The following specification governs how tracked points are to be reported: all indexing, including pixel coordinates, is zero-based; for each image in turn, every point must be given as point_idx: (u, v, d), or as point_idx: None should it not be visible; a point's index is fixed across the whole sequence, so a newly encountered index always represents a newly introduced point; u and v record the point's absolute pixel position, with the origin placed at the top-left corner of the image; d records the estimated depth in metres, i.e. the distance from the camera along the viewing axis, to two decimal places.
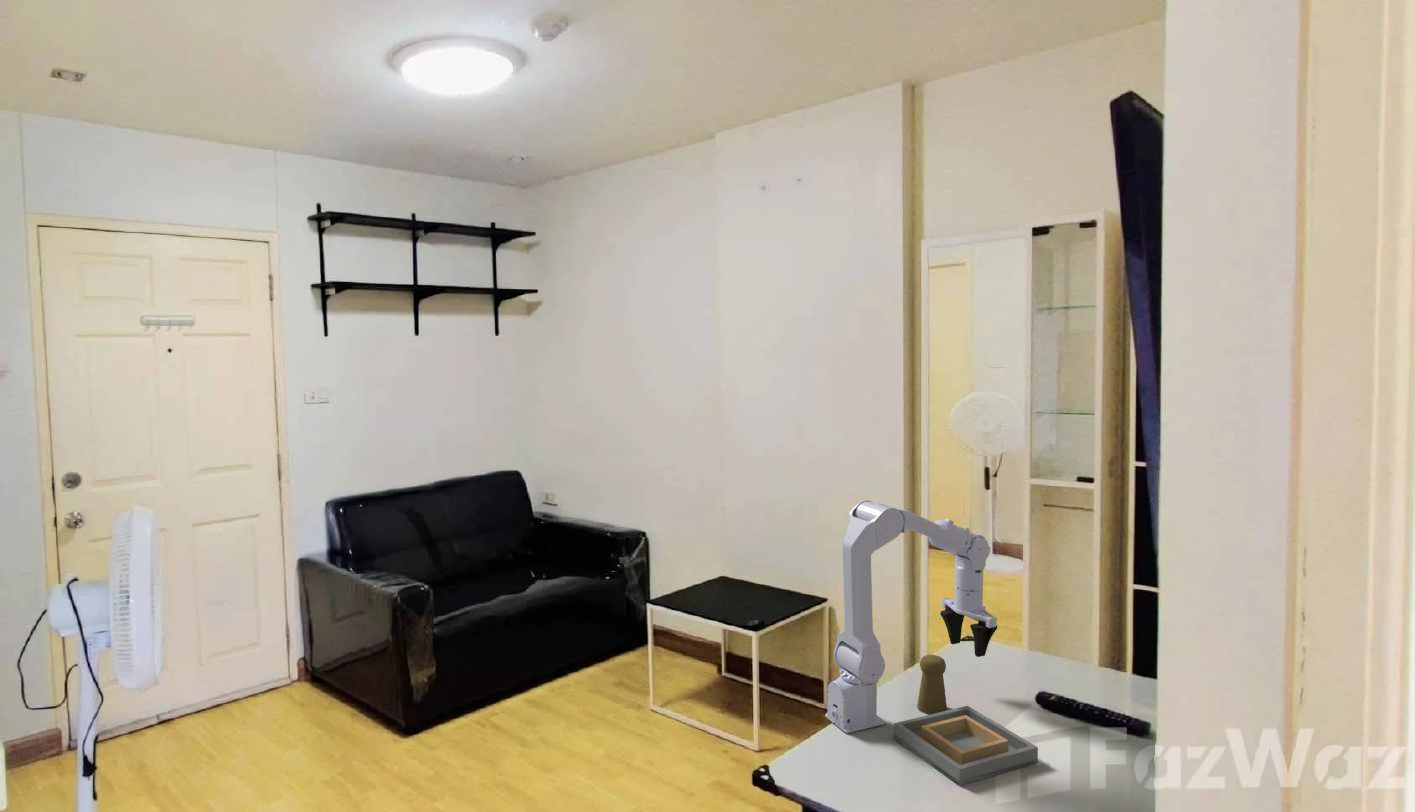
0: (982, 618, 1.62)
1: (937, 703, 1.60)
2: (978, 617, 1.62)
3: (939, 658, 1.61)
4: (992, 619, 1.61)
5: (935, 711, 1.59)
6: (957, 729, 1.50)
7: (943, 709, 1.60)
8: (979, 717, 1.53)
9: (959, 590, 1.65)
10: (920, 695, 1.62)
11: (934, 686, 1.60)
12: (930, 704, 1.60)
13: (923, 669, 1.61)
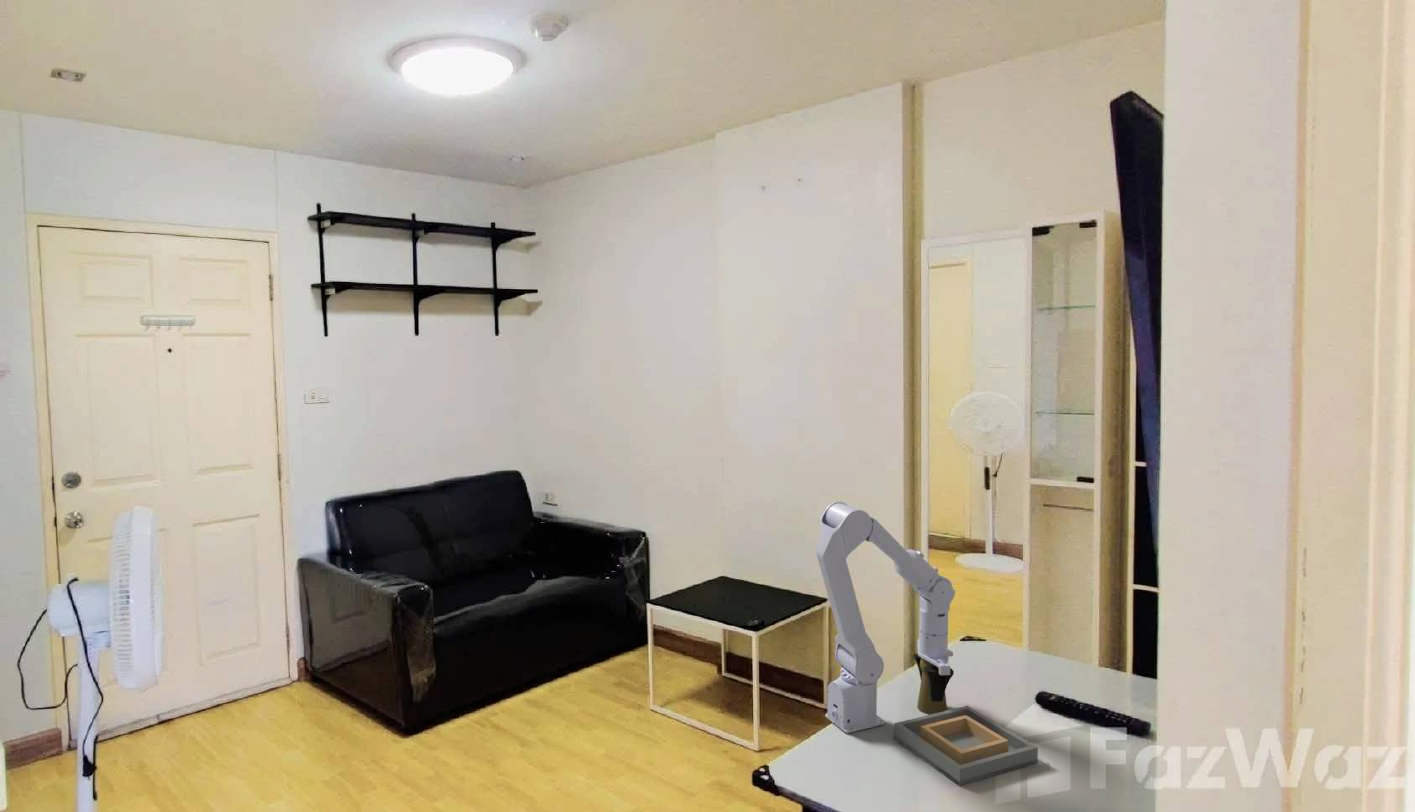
0: (936, 664, 1.56)
1: (937, 703, 1.60)
2: (933, 663, 1.57)
3: None
4: (944, 667, 1.54)
5: (935, 711, 1.59)
6: (957, 729, 1.50)
7: (943, 709, 1.60)
8: (979, 717, 1.53)
9: (920, 632, 1.61)
10: (920, 695, 1.62)
11: None
12: (930, 703, 1.60)
13: (923, 669, 1.61)
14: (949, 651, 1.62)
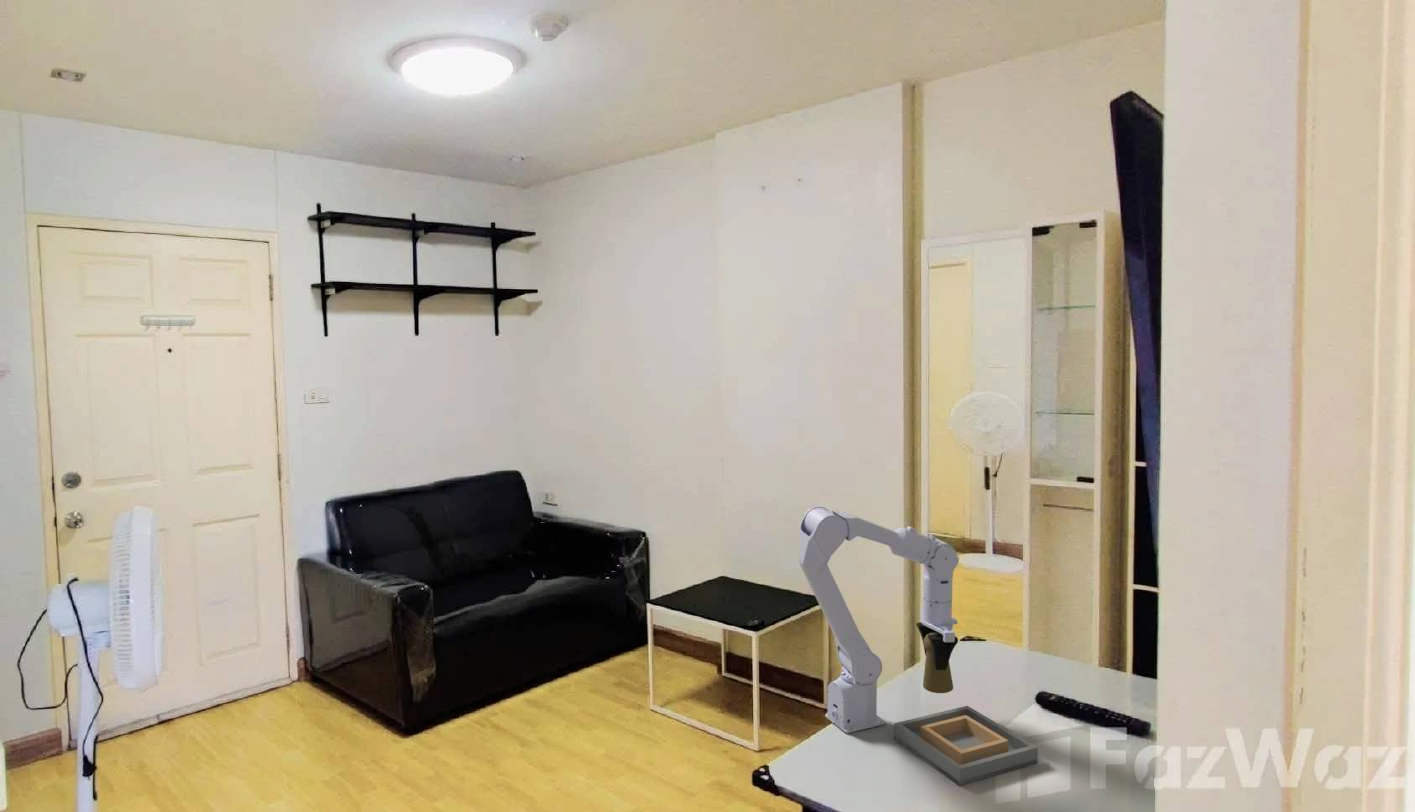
0: (940, 631, 1.53)
1: (942, 681, 1.57)
2: (937, 630, 1.54)
3: None
4: (949, 633, 1.52)
5: (940, 689, 1.57)
6: (957, 729, 1.50)
7: (949, 687, 1.58)
8: (979, 717, 1.53)
9: (924, 600, 1.58)
10: (925, 673, 1.60)
11: None
12: (935, 682, 1.58)
13: (926, 647, 1.58)
14: (953, 619, 1.59)
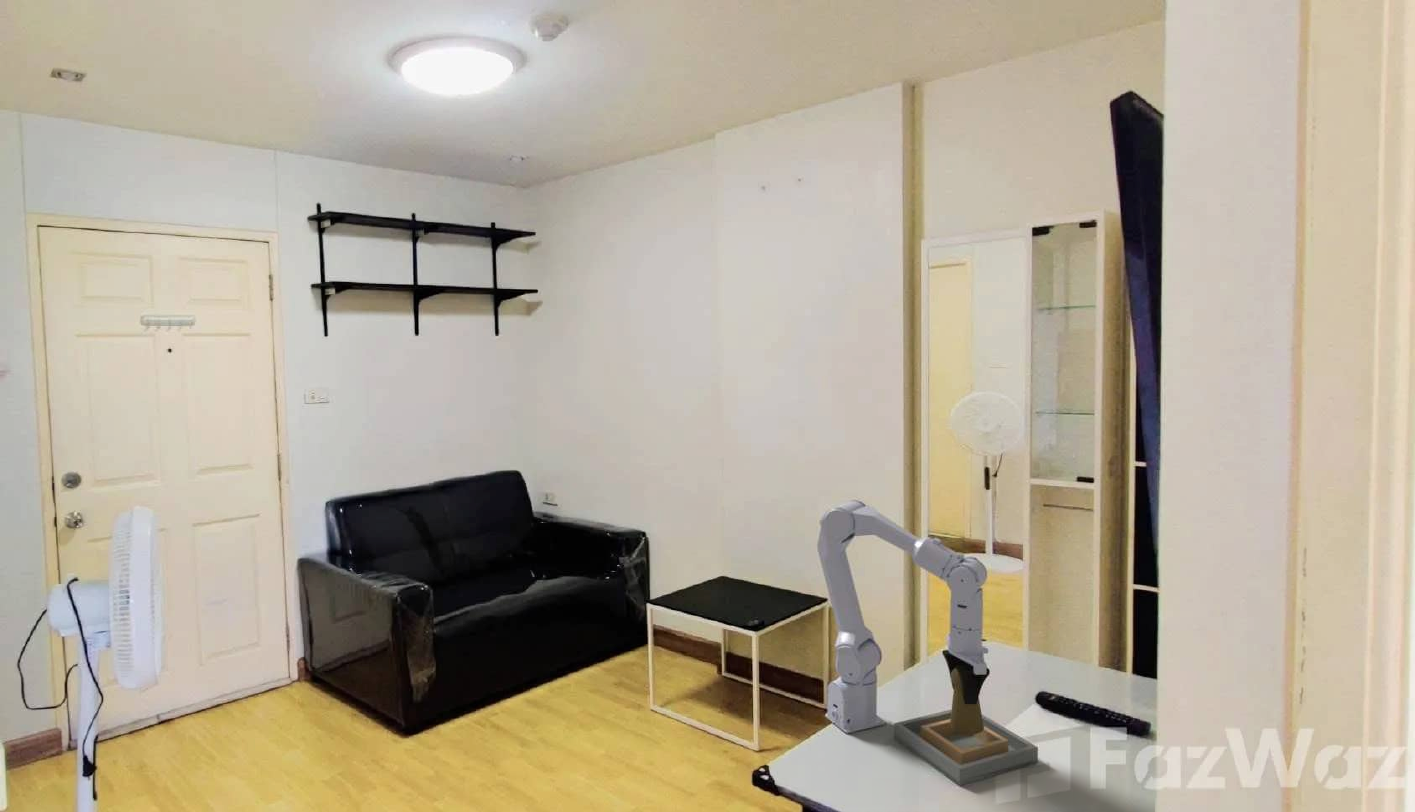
0: (970, 662, 1.38)
1: (971, 721, 1.42)
2: (967, 660, 1.39)
3: None
4: (980, 665, 1.37)
5: (969, 730, 1.42)
6: None
7: (979, 727, 1.43)
8: None
9: (951, 626, 1.43)
10: (952, 712, 1.45)
11: None
12: (964, 722, 1.43)
13: (954, 683, 1.44)
14: (983, 647, 1.44)
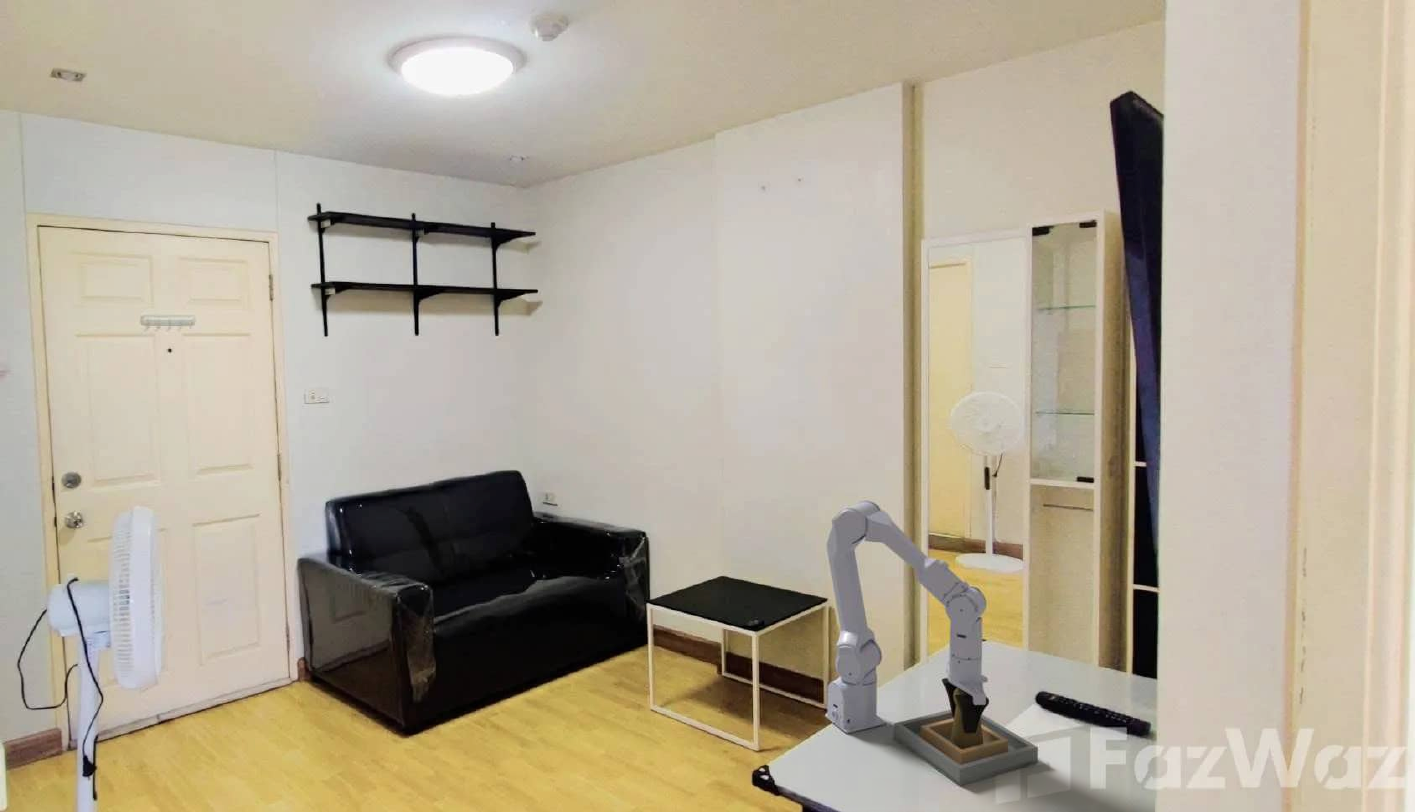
0: (969, 692, 1.39)
1: (972, 741, 1.43)
2: (966, 690, 1.40)
3: None
4: (979, 695, 1.37)
5: None
6: None
7: None
8: None
9: (951, 655, 1.44)
10: (953, 730, 1.45)
11: None
12: (964, 741, 1.43)
13: (956, 702, 1.44)
14: (983, 676, 1.44)
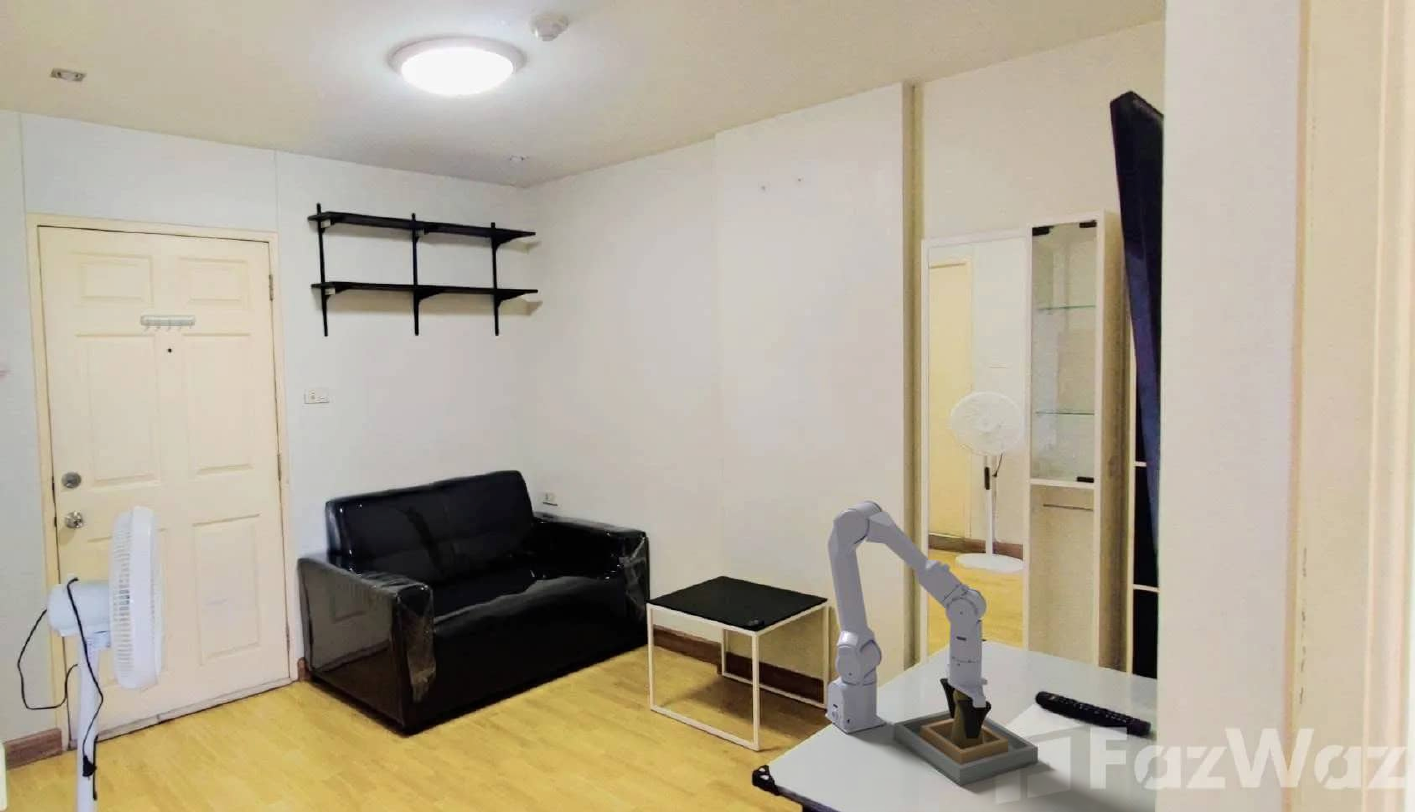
0: (969, 695, 1.39)
1: (972, 741, 1.43)
2: (966, 693, 1.40)
3: None
4: (979, 698, 1.37)
5: None
6: None
7: None
8: None
9: (951, 658, 1.44)
10: (953, 730, 1.45)
11: None
12: (964, 741, 1.43)
13: (956, 702, 1.44)
14: (983, 679, 1.44)
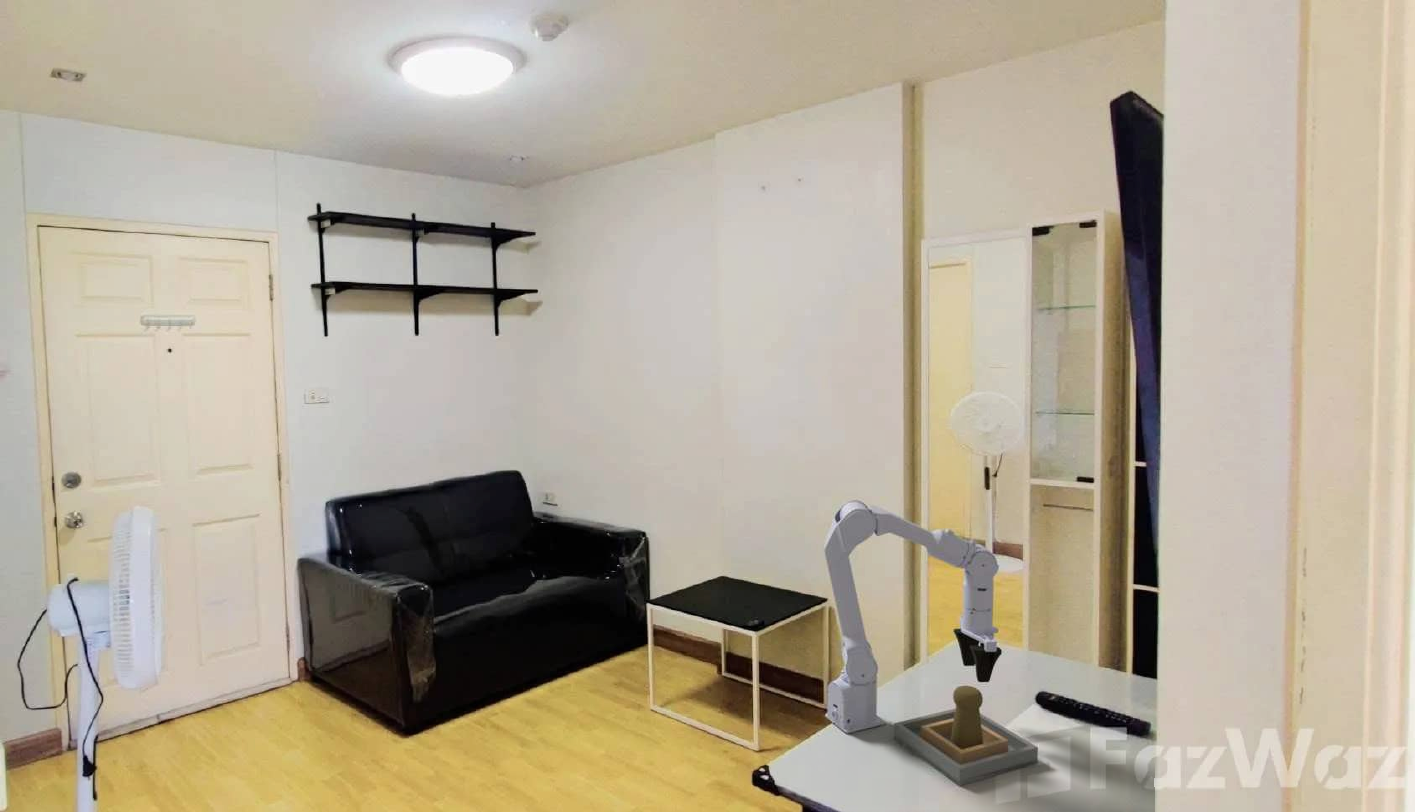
0: (981, 640, 1.49)
1: (972, 741, 1.43)
2: (978, 639, 1.50)
3: (975, 690, 1.44)
4: (990, 643, 1.47)
5: None
6: None
7: None
8: None
9: (964, 608, 1.54)
10: (953, 730, 1.45)
11: (969, 722, 1.43)
12: (964, 741, 1.43)
13: (956, 702, 1.44)
14: (994, 628, 1.54)
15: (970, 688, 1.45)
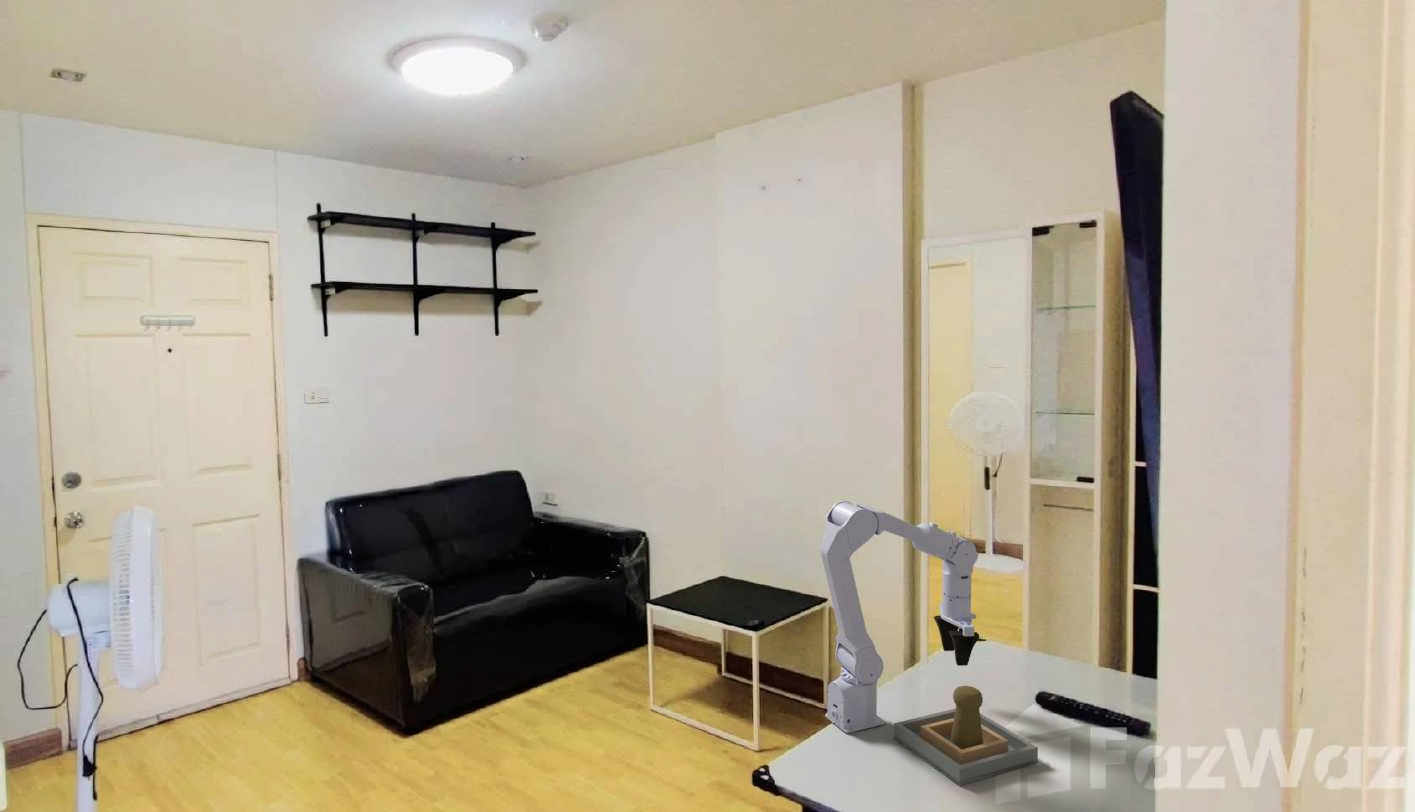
0: (960, 626, 1.56)
1: (972, 741, 1.43)
2: (957, 624, 1.57)
3: (975, 690, 1.44)
4: (968, 628, 1.55)
5: None
6: None
7: None
8: None
9: (943, 595, 1.61)
10: (953, 730, 1.45)
11: (969, 722, 1.43)
12: (964, 741, 1.43)
13: (956, 702, 1.44)
14: (972, 614, 1.62)
15: (970, 688, 1.45)
